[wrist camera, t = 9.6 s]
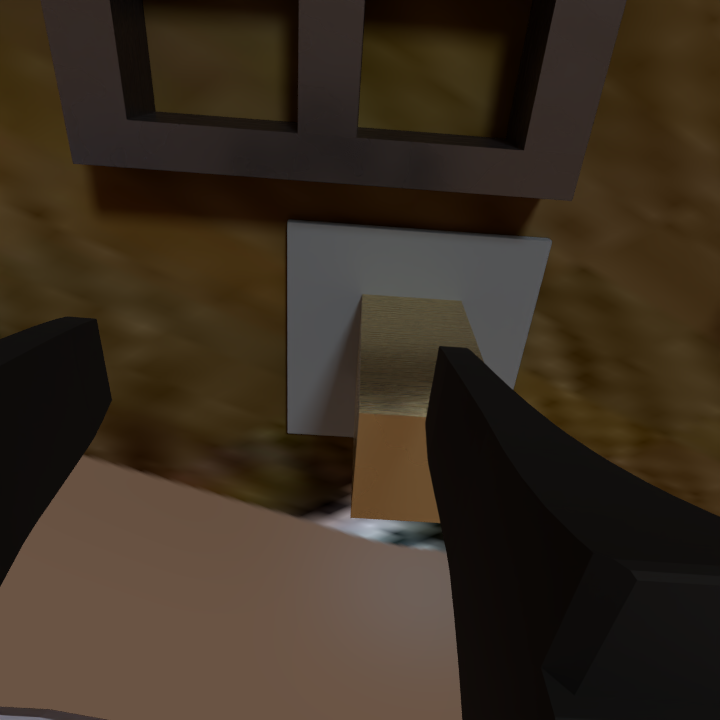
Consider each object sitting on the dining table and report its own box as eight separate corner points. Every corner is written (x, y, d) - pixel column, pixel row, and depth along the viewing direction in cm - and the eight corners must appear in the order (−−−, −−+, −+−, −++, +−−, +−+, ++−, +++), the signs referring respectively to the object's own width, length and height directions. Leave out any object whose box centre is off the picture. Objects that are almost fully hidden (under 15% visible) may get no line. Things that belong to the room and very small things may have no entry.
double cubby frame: (107, 150, 19) (73, 163, 17) (56, -153, 15) (3, -187, 13) (549, 183, 19) (571, 201, 17) (619, -103, 15) (661, -128, 13)
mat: (288, 427, 25) (287, 432, 25) (288, 219, 20) (287, 222, 20) (496, 441, 25) (498, 446, 25) (548, 238, 20) (552, 241, 20)
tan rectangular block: (355, 377, 23) (350, 517, 16) (362, 294, 21) (359, 412, 14) (446, 383, 23) (479, 525, 16) (461, 300, 21) (506, 422, 14)
